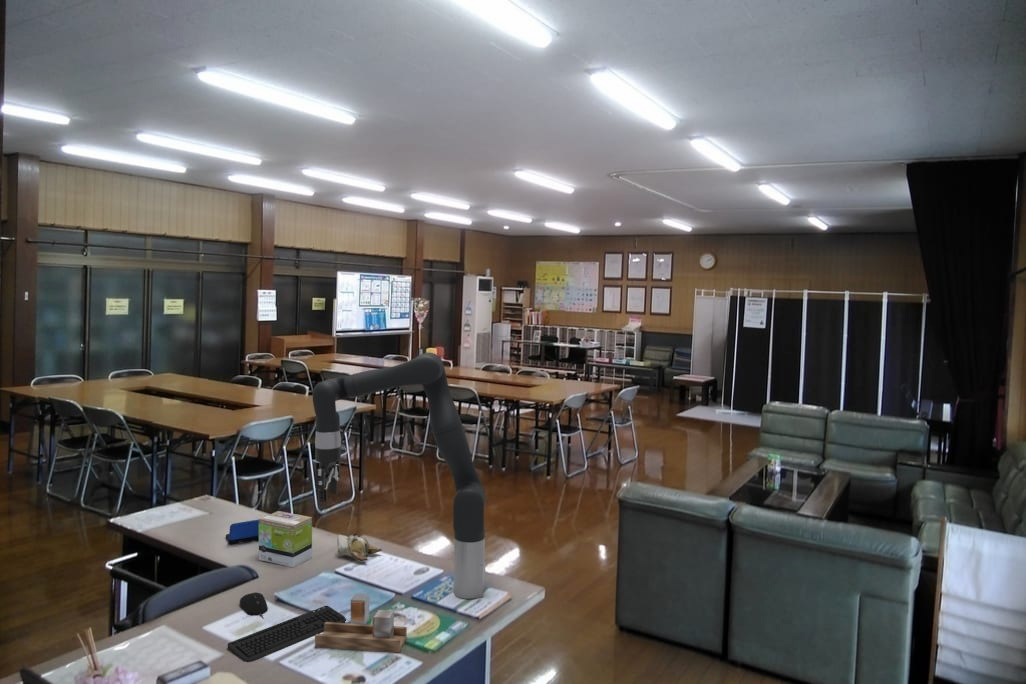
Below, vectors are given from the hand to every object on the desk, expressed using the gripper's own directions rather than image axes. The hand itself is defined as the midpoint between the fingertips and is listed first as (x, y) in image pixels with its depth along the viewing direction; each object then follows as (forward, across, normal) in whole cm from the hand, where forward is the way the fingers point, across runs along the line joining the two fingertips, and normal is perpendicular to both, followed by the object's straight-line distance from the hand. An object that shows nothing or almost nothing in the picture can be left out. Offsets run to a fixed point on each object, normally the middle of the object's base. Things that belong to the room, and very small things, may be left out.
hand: (328, 497), depth 207 cm
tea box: (+28, +19, +23) cm, 41 cm away
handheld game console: (+28, +36, +44) cm, 63 cm away
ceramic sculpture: (+28, +24, 0) cm, 37 cm away
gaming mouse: (+29, -17, +15) cm, 37 cm away
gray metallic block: (+28, -20, -16) cm, 39 cm away
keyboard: (+29, -30, -1) cm, 41 cm away
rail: (+28, -31, -21) cm, 47 cm away
